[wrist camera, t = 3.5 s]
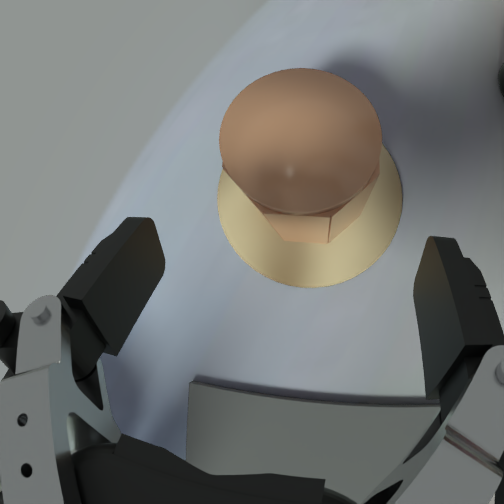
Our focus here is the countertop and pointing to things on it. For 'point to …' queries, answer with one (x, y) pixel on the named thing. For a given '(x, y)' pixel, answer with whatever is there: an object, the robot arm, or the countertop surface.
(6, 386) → the robot arm
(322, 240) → the tan cylinder
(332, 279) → the pale yellow plate
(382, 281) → the countertop surface
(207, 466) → the charcoal mat
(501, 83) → the supplement bottle
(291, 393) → the countertop surface
